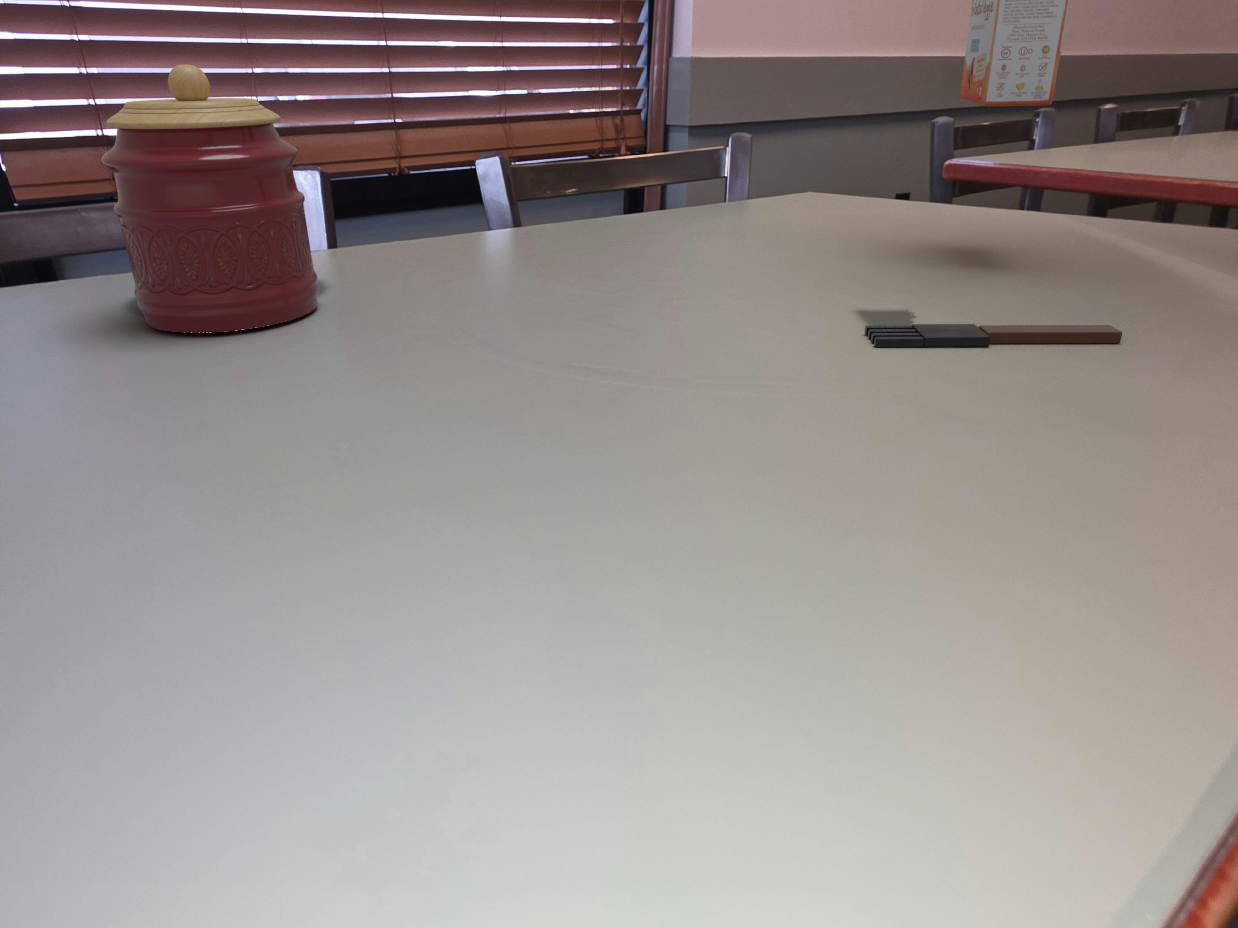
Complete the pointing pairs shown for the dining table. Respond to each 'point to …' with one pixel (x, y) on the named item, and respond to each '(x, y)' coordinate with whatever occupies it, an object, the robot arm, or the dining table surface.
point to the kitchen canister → (210, 211)
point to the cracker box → (1013, 51)
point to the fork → (987, 334)
